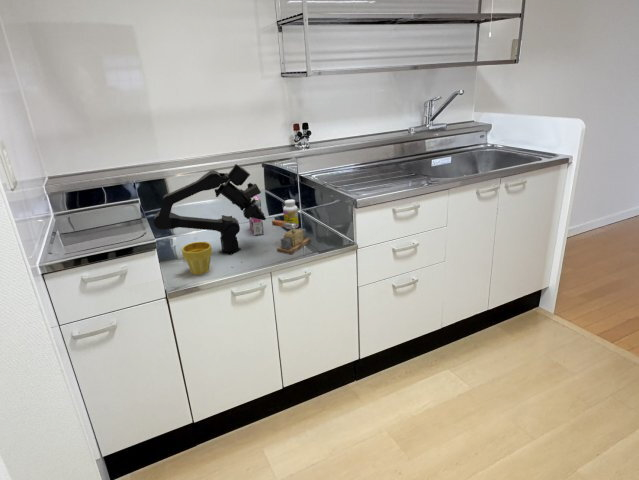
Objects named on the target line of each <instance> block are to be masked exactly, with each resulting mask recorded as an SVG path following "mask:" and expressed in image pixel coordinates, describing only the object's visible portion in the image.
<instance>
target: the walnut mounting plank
mask: <svg viewBox="0 0 639 480" xmlns="http://www.w3.org/2000/svg"><path fill="white" fill-rule="evenodd" d="M311 239H312V238H311V237H307V238H306V239H305V240H303V241H302V242H301V243H299V244H298V245H296V246H293V248H291V249H290V250H288V249H283V248H281V245H280V246H278V247H277V248H276V252H277V253H281V252H282V254H286V253H287V254H288V255H294V254H295V253H296V252H298V251H300V249H302V248H303V247H305V246H306V245H308V244H309V243H311V241H312V240H311Z"/></svg>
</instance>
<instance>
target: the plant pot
mask: <svg viewBox="0 0 639 480" xmlns="http://www.w3.org/2000/svg"><path fill="white" fill-rule="evenodd" d="M212 250H213V249H212V244H211V243H210V242H207V241H195V242H190V243H188V244H187V243H186V244H185V245H184V246H183V247H182V248H181V252H182V257H183V259H184V260H185V261H186V263H187V265H188V267H189V271H190V272H191V274H192V275H196V276H197V275H204V274H207V273H208V272H209V271H210V268H211V267H210V266H211V265H210V264H211V256H212V255H213V251H212Z"/></svg>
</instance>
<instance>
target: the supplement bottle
mask: <svg viewBox="0 0 639 480" xmlns="http://www.w3.org/2000/svg"><path fill="white" fill-rule="evenodd" d="M298 209H299V208H298V206H297V205H296V200H295V199H287V200H284V206H283V208H282V210H283V211H282V213H283V221H285V223H296V228H295V229H298V227H299V225H300V223H299V210H298ZM284 228H285V229H287V230H291V228H290V227H288V226H284Z"/></svg>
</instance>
